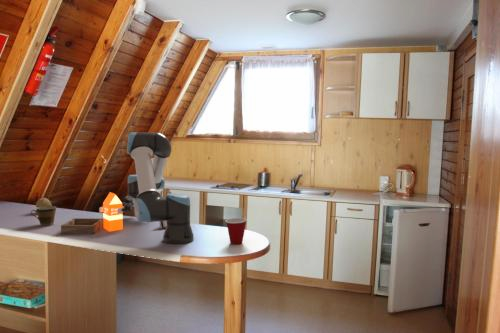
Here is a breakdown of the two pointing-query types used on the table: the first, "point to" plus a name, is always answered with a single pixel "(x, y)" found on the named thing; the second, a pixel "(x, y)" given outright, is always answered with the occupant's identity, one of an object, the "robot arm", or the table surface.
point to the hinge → (163, 224)
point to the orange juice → (112, 213)
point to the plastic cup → (236, 230)
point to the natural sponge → (43, 202)
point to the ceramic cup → (45, 215)
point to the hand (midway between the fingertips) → (109, 210)
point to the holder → (82, 226)
